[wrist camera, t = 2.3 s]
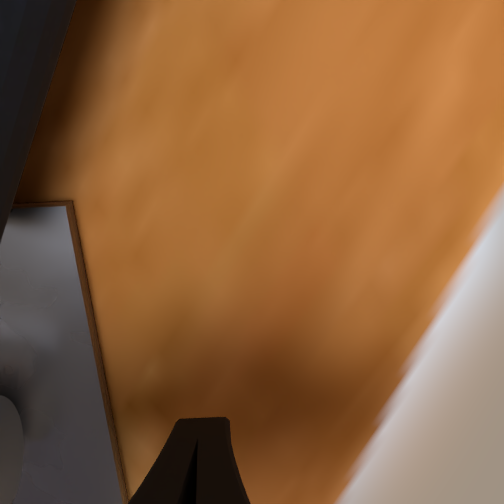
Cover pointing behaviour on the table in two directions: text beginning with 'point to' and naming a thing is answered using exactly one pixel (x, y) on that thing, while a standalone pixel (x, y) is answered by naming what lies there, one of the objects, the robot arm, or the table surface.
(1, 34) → the pipe connector
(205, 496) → the robot arm
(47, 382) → the grey cradle rack
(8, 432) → the grey long cylinder
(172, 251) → the table surface
